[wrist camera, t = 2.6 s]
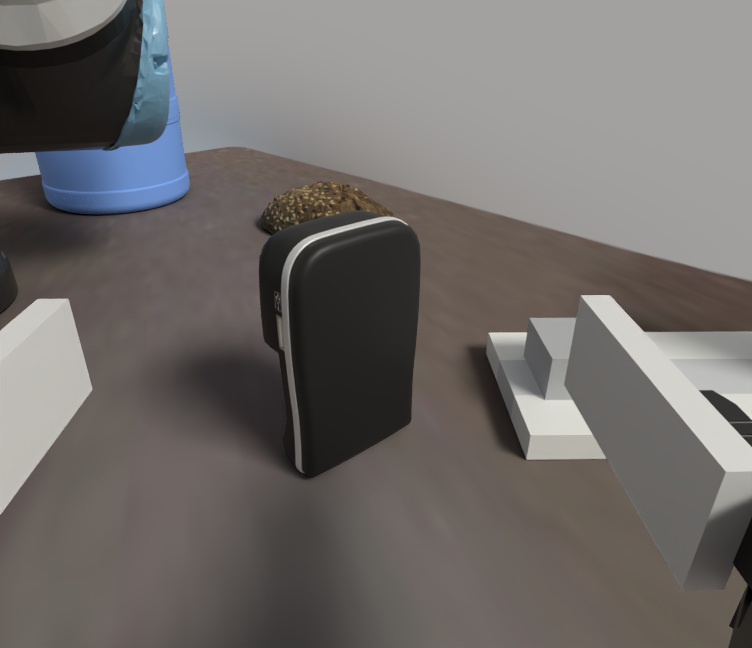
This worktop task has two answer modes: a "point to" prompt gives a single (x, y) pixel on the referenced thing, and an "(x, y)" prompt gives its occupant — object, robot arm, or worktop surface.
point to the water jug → (119, 173)
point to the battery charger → (342, 331)
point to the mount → (554, 404)
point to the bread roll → (316, 205)
